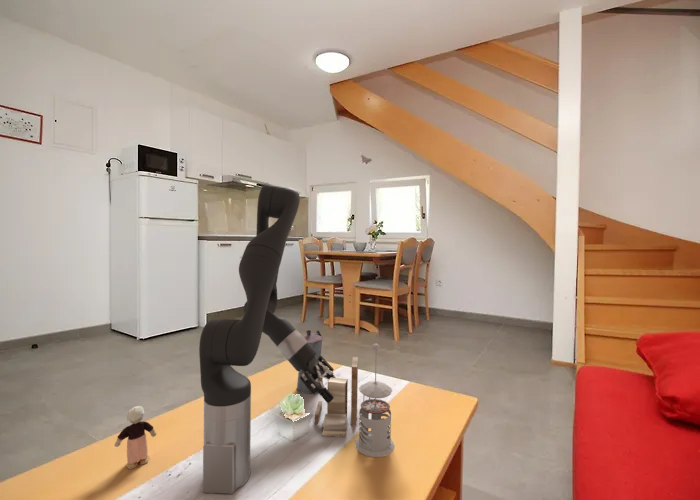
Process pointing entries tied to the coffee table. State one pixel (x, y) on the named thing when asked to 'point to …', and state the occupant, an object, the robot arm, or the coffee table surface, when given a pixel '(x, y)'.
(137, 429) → the grandmother figurine
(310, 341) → the moka pot
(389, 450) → the french press
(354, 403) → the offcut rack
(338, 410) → the light wooden block
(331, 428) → the offcut stack
